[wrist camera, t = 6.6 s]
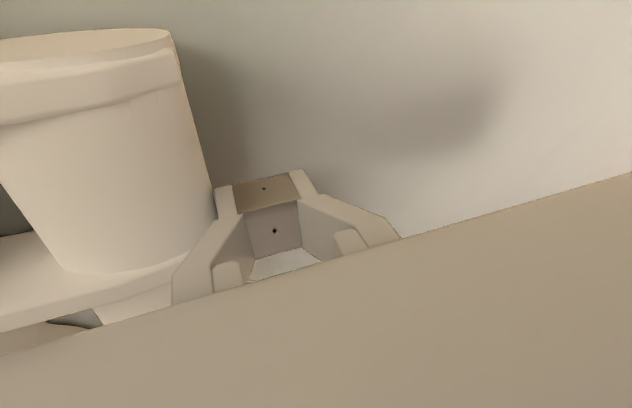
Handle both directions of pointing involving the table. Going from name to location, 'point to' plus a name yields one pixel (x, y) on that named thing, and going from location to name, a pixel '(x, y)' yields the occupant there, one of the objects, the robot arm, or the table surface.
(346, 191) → the table surface
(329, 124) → the table surface
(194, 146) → the cream flat holed block
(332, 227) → the robot arm
